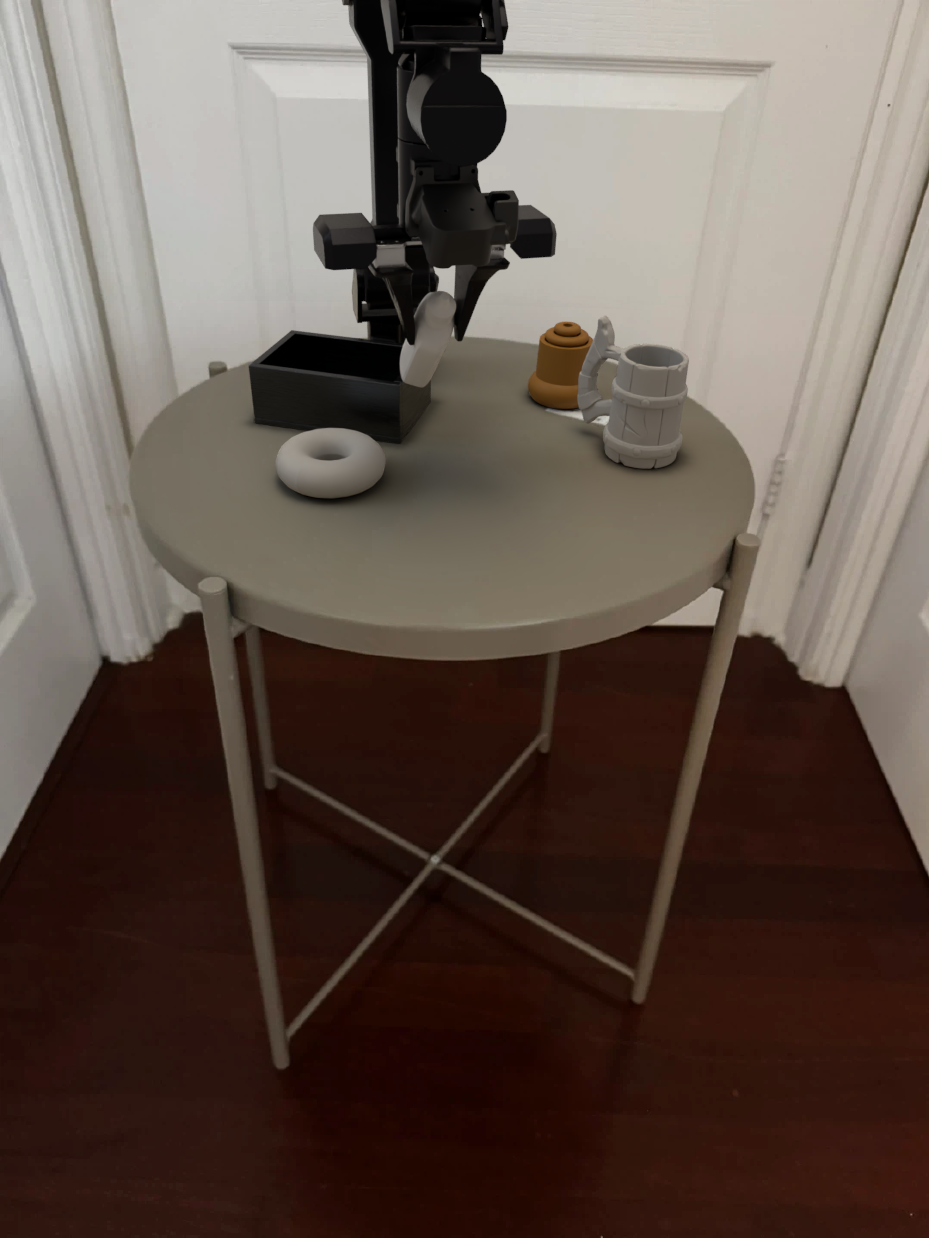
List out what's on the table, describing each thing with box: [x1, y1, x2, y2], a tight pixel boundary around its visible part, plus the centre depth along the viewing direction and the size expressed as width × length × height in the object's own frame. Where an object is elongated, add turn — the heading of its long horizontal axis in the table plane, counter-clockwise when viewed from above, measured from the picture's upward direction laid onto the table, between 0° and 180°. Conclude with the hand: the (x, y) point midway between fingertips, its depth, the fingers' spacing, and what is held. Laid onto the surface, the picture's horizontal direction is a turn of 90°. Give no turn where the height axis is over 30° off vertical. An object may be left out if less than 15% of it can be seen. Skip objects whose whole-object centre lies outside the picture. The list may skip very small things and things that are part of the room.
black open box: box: [248, 329, 432, 445], centre depth 96 cm, size 11×16×6 cm
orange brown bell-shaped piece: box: [527, 321, 598, 410], centre depth 100 cm, size 8×8×8 cm
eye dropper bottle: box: [400, 290, 456, 387], centre depth 80 cm, size 4×6×12 cm
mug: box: [577, 315, 690, 470], centre depth 90 cm, size 8×12×12 cm, turn 48°
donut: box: [274, 428, 387, 499], centre depth 86 cm, size 10×4×10 cm
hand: (434, 342), depth 80 cm, fingers closed on eye dropper bottle, 4 cm apart
